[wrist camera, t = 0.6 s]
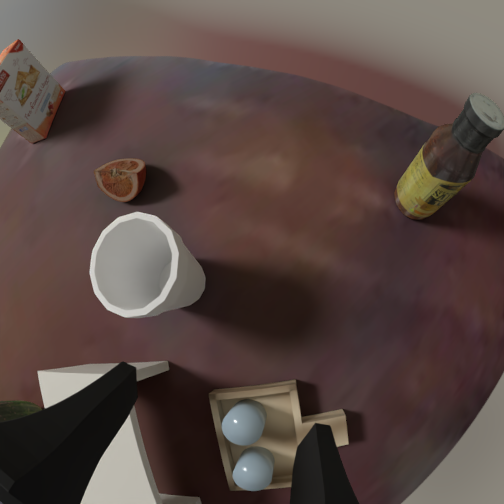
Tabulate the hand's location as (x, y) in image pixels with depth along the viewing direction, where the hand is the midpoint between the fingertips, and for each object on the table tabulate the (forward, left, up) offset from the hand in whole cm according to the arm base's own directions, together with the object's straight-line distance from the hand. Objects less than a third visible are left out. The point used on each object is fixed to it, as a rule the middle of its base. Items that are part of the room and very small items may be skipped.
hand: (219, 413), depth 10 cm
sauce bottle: (+15, -22, -25) cm, 37 cm away
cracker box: (+52, +41, -25) cm, 70 cm away
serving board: (-11, 0, -25) cm, 27 cm away
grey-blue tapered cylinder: (-8, +4, -24) cm, 25 cm away
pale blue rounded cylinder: (-14, +4, -24) cm, 28 cm away
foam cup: (+10, +10, -25) cm, 28 cm away
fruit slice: (+26, +17, -25) cm, 40 cm away
